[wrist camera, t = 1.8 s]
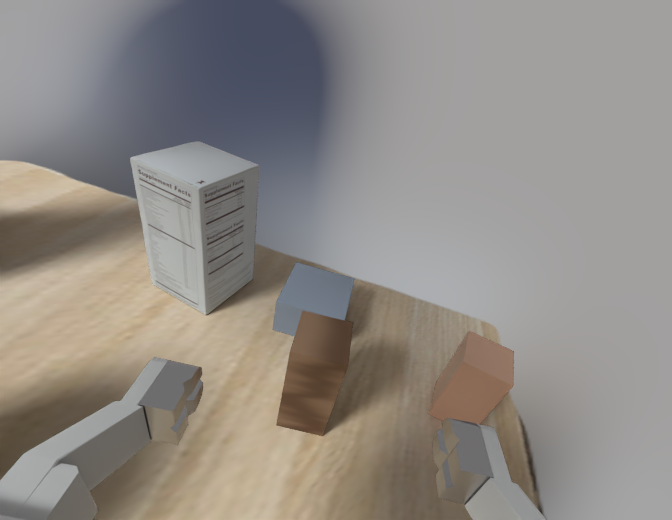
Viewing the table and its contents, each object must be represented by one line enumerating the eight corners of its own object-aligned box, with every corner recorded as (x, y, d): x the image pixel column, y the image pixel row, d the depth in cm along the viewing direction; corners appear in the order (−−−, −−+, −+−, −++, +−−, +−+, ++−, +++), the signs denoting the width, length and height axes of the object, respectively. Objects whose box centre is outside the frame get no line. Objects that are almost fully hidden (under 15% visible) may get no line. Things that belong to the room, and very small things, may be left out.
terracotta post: (428, 413, 36) (463, 361, 31) (436, 382, 39) (468, 330, 34) (469, 435, 35) (513, 385, 30) (474, 401, 38) (513, 351, 33)
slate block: (272, 331, 41) (276, 301, 38) (292, 290, 47) (296, 262, 44) (335, 349, 41) (344, 321, 38) (346, 305, 47) (354, 278, 44)
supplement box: (255, 279, 47) (263, 165, 38) (206, 317, 40) (202, 189, 30) (203, 251, 50) (198, 138, 40) (148, 283, 43) (126, 154, 33)
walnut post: (276, 425, 32) (290, 351, 25) (287, 383, 35) (302, 310, 29) (322, 436, 32) (348, 365, 25) (329, 393, 35) (353, 322, 29)
